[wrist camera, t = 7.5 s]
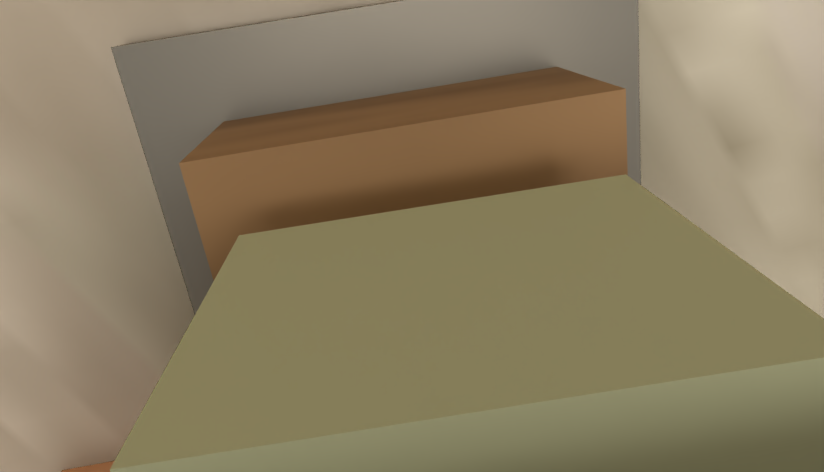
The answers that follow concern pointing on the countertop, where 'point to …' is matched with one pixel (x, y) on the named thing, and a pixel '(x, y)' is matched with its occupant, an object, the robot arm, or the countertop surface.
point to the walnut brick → (403, 153)
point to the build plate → (355, 75)
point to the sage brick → (491, 347)
